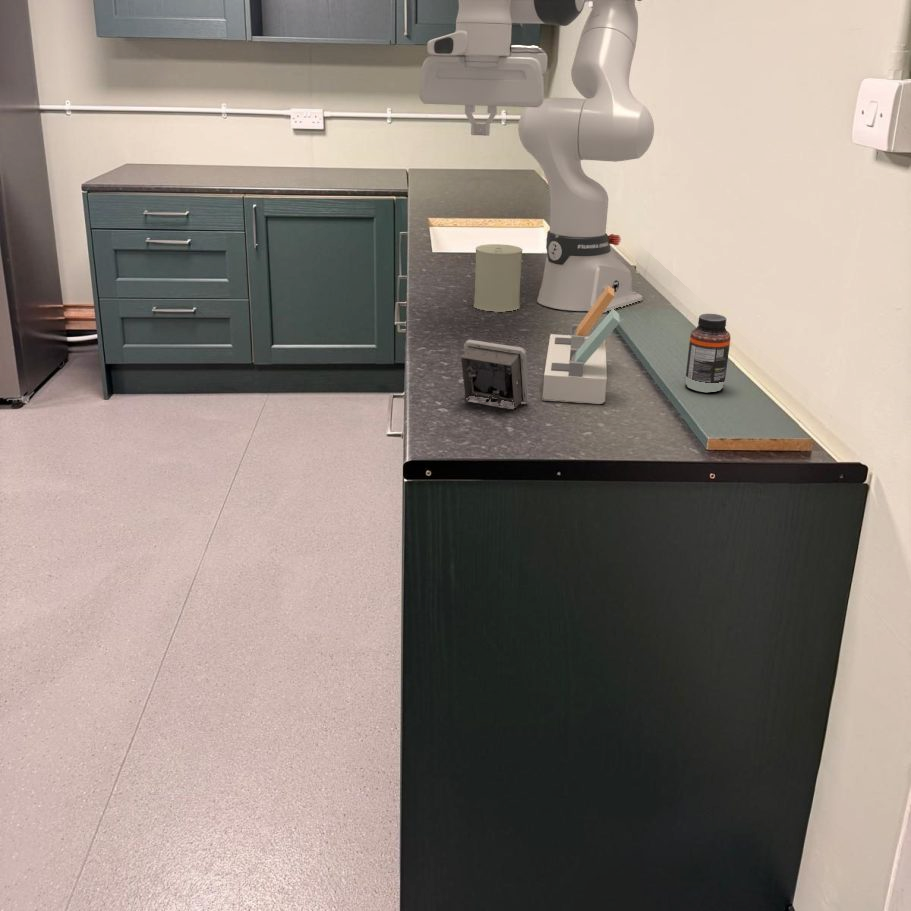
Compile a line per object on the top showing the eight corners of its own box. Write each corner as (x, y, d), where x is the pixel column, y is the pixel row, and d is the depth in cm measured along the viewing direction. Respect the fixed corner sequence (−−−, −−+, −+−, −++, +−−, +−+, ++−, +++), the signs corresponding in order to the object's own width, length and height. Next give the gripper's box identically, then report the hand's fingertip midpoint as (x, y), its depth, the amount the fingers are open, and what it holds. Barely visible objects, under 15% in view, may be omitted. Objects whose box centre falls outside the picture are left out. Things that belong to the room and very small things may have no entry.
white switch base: (542, 401, 142) (544, 361, 139) (550, 347, 167) (552, 313, 165) (604, 405, 141) (608, 365, 138) (602, 350, 166) (605, 316, 164)
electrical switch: (529, 404, 141) (530, 344, 136) (516, 418, 137) (517, 357, 132) (471, 393, 144) (470, 335, 140) (456, 407, 140) (455, 347, 136)
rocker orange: (571, 342, 154) (607, 292, 150) (572, 333, 158) (607, 284, 155) (578, 346, 154) (615, 297, 150) (579, 337, 158) (614, 289, 155)
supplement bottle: (695, 379, 153) (703, 309, 149) (730, 388, 150) (740, 316, 145) (677, 388, 149) (685, 316, 144) (713, 397, 145) (723, 324, 141)
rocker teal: (569, 368, 141) (612, 317, 137) (570, 357, 146) (612, 308, 142) (576, 374, 141) (620, 323, 137) (577, 363, 146) (619, 313, 142)
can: (473, 311, 188) (475, 250, 184) (473, 300, 197) (475, 241, 192) (520, 313, 188) (523, 251, 184) (519, 301, 197) (522, 242, 192)
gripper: (549, 45, 156) (544, 135, 161) (424, 42, 158) (423, 131, 163) (547, 45, 150) (542, 139, 155) (417, 42, 152) (416, 134, 158)
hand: (480, 135), depth 159 cm, fingers closed
